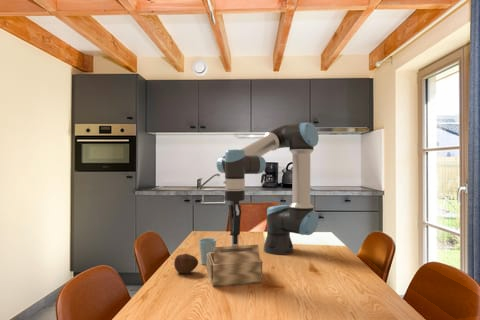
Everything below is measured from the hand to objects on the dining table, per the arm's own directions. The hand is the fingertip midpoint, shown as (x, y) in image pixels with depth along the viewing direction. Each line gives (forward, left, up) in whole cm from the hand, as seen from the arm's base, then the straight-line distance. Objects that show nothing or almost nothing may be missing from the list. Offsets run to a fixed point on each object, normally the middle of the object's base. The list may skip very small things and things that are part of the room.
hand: (234, 251), depth 119 cm
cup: (+8, -24, -11) cm, 28 cm away
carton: (0, -4, -11) cm, 12 cm away
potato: (+18, -13, -11) cm, 25 cm away
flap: (0, +5, -3) cm, 5 cm away
